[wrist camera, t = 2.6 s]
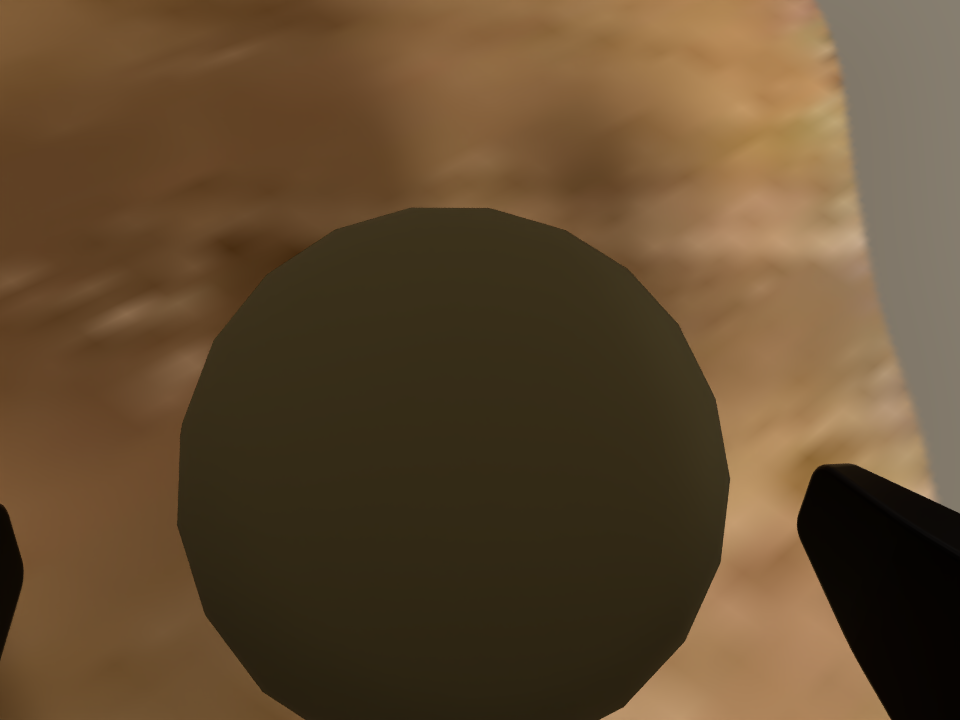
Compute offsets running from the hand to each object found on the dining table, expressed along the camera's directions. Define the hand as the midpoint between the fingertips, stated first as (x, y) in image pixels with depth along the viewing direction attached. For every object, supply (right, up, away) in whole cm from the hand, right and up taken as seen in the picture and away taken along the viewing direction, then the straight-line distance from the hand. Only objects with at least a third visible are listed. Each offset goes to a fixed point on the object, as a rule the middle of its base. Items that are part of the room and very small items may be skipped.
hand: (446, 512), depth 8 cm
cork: (-1, -2, +8) cm, 8 cm away
